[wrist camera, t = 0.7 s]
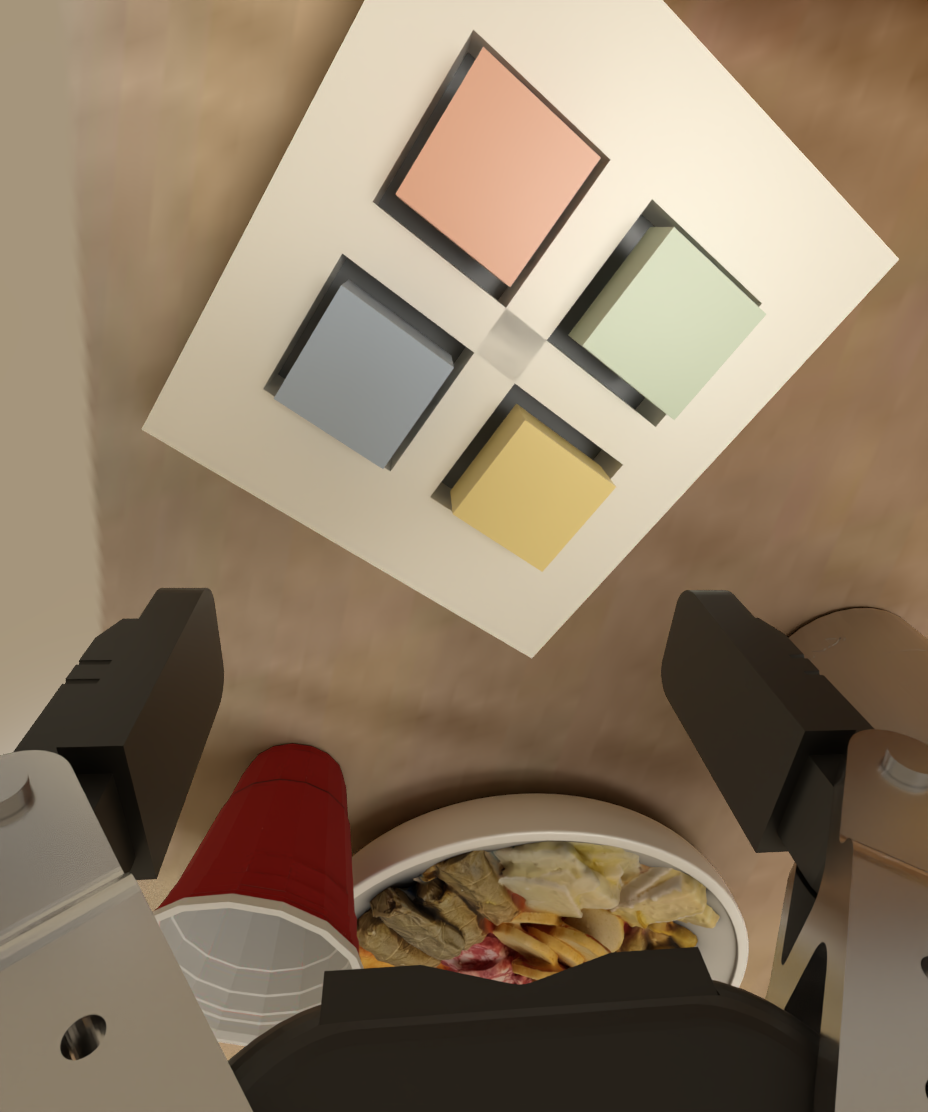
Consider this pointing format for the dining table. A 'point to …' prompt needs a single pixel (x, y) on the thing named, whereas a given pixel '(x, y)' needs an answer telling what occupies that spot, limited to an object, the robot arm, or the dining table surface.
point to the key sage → (667, 320)
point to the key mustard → (529, 489)
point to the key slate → (365, 375)
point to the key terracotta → (497, 170)
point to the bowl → (539, 890)
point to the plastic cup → (267, 896)
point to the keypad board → (511, 291)
